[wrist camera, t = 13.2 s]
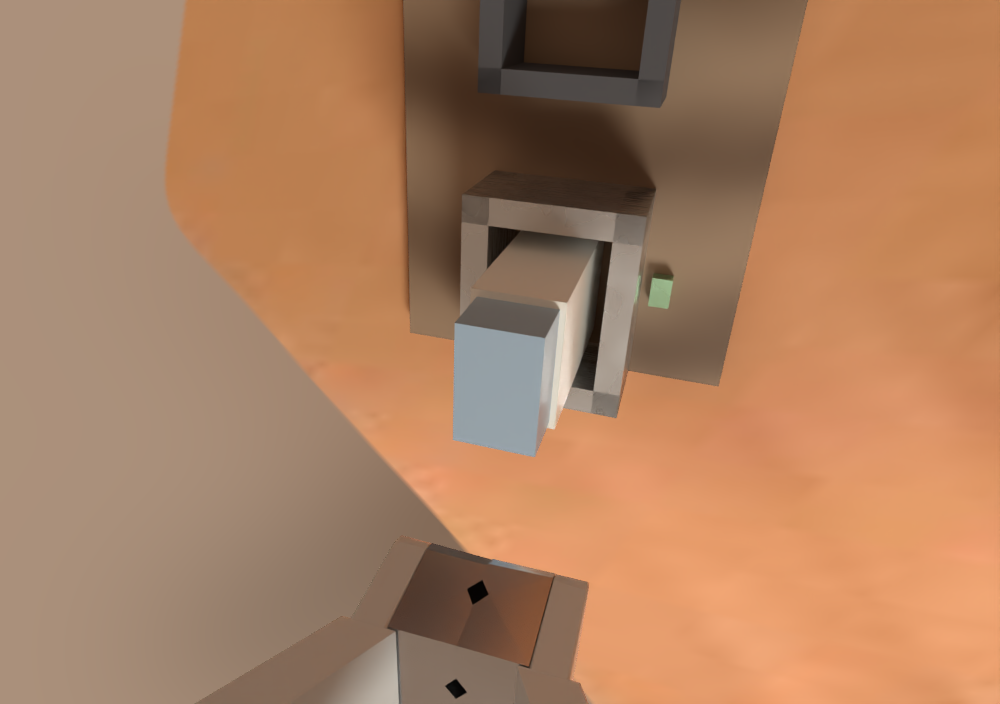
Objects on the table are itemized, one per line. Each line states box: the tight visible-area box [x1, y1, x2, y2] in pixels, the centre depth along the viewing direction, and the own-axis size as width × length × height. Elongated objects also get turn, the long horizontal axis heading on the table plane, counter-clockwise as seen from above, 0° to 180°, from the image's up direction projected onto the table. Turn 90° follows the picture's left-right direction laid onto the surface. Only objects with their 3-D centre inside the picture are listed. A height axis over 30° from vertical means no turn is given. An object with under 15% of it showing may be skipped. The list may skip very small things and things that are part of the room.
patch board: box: [403, 0, 808, 386], centre depth 25 cm, size 20×14×1 cm
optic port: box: [460, 171, 674, 418], centre depth 26 cm, size 8×8×4 cm
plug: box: [453, 230, 604, 457], centre depth 24 cm, size 4×3×10 cm, turn 177°
